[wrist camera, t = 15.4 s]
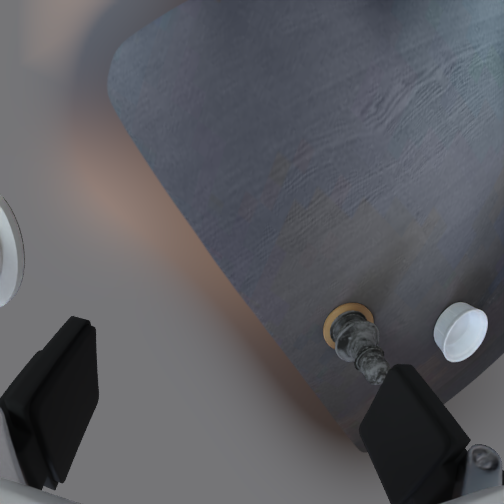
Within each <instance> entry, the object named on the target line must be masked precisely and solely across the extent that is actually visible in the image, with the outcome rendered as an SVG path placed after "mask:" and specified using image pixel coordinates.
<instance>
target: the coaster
mask: <svg viewBox="0 0 504 504" xmlns="http://www.w3.org/2000/svg"><path fill="white" fill-rule="evenodd" d="M351 310H354V311H359V312H361V313H362V314H363V315H364V316H365V317H366V319H367V321H369V322H371V323H374V321H373V316H372V314H371V312H370V311H369V310H368V308H367V307H365V306H364V305H362V304H359V303H347V304H344V305H341V306H339V307H337V308H336V309H335V310H333V311H332V312H331V313H330V314H329V316H328V317H327V319H326V321H325V323H324V327H323V335H324V339H325V340H326V342H327V344H328V345H329V346H330V347H332V348H333V349H335V342H333V340H332V339H331V336H330V327H331V324H332V323H333V321H334V319H335V318H336V317H338V316H339V315H340V314H342V313H344V312H346V311H351Z"/></svg>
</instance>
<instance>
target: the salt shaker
mask: <svg viewBox="0 0 504 504" xmlns="http://www.w3.org/2000/svg"><path fill="white" fill-rule="evenodd" d="M330 336H331V339H332V340H333V342H335V350H336V353H337V355H338V356H339V357H340V358H341V359H342V360H344V361H347V362H354V365H355V368H356V369H357V370H358V371H360V372H362V373H363V374H364V376H365V378H366V380H367V381H368V382H369V383H370V384H373V385H378V384H382V383H383V381H384V379H385V377H386V374H387V372H388V371H389V370H390V369H391V368H390V365H389V364H388V362H387V361H386V360H385V358H384V352H383V350H382V349H381V348H380V347H378V346H377V345H378V343H379V338H380V334H379V330H378V328H377V326H376V325H374V324H373V323H371V322H369V321H367V319H366V317H365V316H364V315H363V314H362V313H361V312H359V311H354V310H351V311H346V312H344V313H342V314H340V315H339V316H338V317H336V318H335V319H334V321H333V323H332V324H331V327H330Z"/></svg>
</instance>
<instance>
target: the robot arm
mask: <svg viewBox="0 0 504 504" xmlns="http://www.w3.org/2000/svg"><path fill="white" fill-rule="evenodd" d="M1 270H2V253H1V246H0V275H1ZM98 399H99V389H98V374H97V354H96V329H95V327H93V326H91V324H90V321H89V320H86V319H82V318H78V317H74V316H71V317H70V318H69V319H68V321H67V322H66V323H65V324H64V325H63V326H62V328H60V330H59V331H58V332H57V333H56V334H55V336H54V337H53V338H52V339H51V340H50V341H49V343H48V344H47V345H46V346H45V347H44V349H43V350H41V351H38V352H37V353H36V354H35V355H34V356H33V358H32V359H31V360H30V361H29V363H28V364H27V365H26V366H25V367H24V369H23V370H22V371H21V372H20V373H19V375H18V376H17V377H16V378H15V380H14V381H13V382H12V383H11V385H10V386H9V387H8V389H7V390H6V391H5V393H4V394H3V395H2V397H1V398H0V504H81V503H77V502H74V501H71V500H68V499H65V498H62V497H59V496H56V495H53V494H50V493H47V492H44V491H42V488H43V486H46V487H48V488H50V489H53V490H56V487H57V485H58V482H60V483H64V481H65V479H66V477H67V474H68V472H69V469H70V467H71V464H72V462H73V459H74V457H75V454H76V452H77V450H78V447H79V445H80V442H81V440H82V438H83V435H84V433H85V431H86V428H87V426H88V424H89V421H90V419H91V417H92V415H93V412H94V410H95V408H96V406H97V403H98ZM359 432H360V436H361V438H362V440H363V442H364V445H365V447H366V449H367V451H368V453H369V456H370V458H371V460H372V462H373V465H374V467H375V469H376V471H377V473H378V476H379V478H380V480H381V483H382V485H383V487H384V489H385V491H386V494H387V496H388V499H389V501H390V503H391V504H504V471H503V470H502V461H501V458H500V456H499V455H498V453H497V452H496V451H495V450H493V449H492V448H490V447H488V446H486V445H482V444H477V445H474V446H472V447H471V448H470V449H469V450H468V451H467V450H466V449H465V448H466V446H467V445H468V443H469V442H470V439H469V437H468V436H467V435H466V433H465V432H464V431H463V429H462V428H461V427H460V425H459V424H458V423H457V421H456V420H455V419H454V417H453V416H452V415H451V414H450V412H449V411H448V410H447V408H445V406H444V405H443V403H442V402H441V401H440V400H439V398H438V397H437V396H436V394H435V393H434V392H433V391H432V389H431V388H430V387H429V386H428V384H427V383H426V382H425V381H424V379H423V378H422V377H421V376H420V374H419V373H418V372H417V371H416V370H415V368H414V367H413V366H412V365H406V364H396V365H394V366H393V368H391V369H390V370H389V371H388V372H387V374H386V377H385V379H384V381H383V383H382V385H381V387H380V389H379V391H378V393H377V395H376V397H375V399H374V400H373V402H372V404H371V406H370V408H369V410H368V412H367V414H366V415H365V417H364V419H363V421H362V423H361V425H360V428H359Z"/></svg>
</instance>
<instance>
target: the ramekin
mask: <svg viewBox="0 0 504 504" xmlns="http://www.w3.org/2000/svg"><path fill="white" fill-rule="evenodd" d="M487 326H488V321H487V316H486V314H485V313H484V312H483V311H482V310H480V309H477V308H474V307H472V306H471V305H469V304H467V303H464V302H458V303H454V304H452V305H451V306H449V307H448V308H447V309H446V310H445V311H444V312H443V313H442V314H441V315H440V317H439V318H438V320H437V322H436V325H435V328H434V339H435V342H436V344H437V345H438V346H439V348H440V349H441V350H442V352H443V354H444V356H445V358H446V359H447V360H449V361H451V362H459V361H462V360H464V359H466V358H468V357H469V356H470V355H472V354H473V353H474V352H475V351H476V350H477V348H478V347H479V346H480V344H481V343H482V341H483V339H484V337H485V334H486V331H487Z"/></svg>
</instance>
